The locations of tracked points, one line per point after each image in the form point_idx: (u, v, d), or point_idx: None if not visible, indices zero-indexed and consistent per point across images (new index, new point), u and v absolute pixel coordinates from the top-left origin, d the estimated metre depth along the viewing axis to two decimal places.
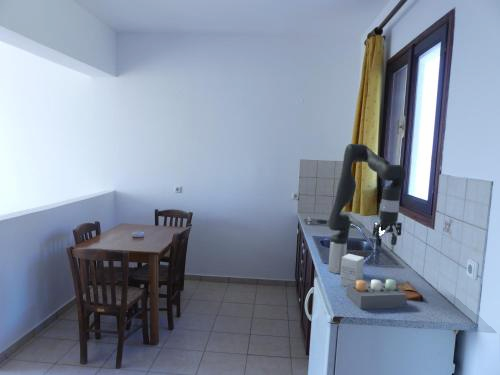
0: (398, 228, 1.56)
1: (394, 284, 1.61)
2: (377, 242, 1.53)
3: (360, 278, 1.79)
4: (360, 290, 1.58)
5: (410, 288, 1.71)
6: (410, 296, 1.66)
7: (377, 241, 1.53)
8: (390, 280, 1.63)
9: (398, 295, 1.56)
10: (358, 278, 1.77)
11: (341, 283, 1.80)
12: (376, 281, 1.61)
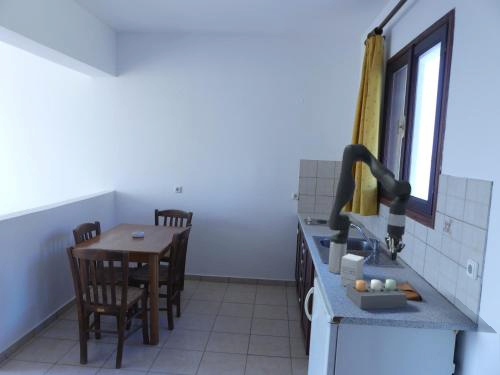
0: None
1: (394, 284, 1.61)
2: (395, 257, 1.60)
3: (360, 278, 1.79)
4: (360, 290, 1.58)
5: (409, 288, 1.71)
6: (409, 295, 1.66)
7: (395, 256, 1.60)
8: (390, 280, 1.63)
9: (398, 295, 1.56)
10: (358, 278, 1.77)
11: (341, 283, 1.80)
12: (376, 281, 1.61)
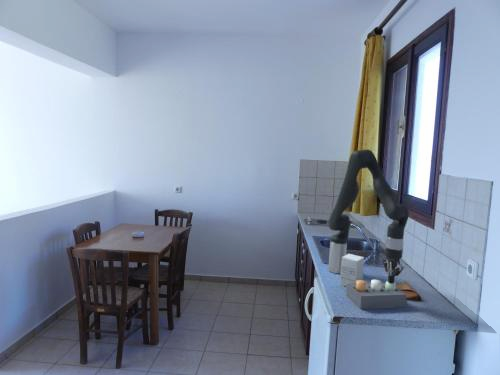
0: None
1: (394, 286, 1.61)
2: (393, 280, 1.61)
3: (360, 278, 1.79)
4: (360, 290, 1.58)
5: (408, 288, 1.71)
6: (408, 295, 1.66)
7: (393, 279, 1.61)
8: None
9: (398, 295, 1.56)
10: (358, 278, 1.77)
11: (341, 283, 1.80)
12: (376, 281, 1.61)
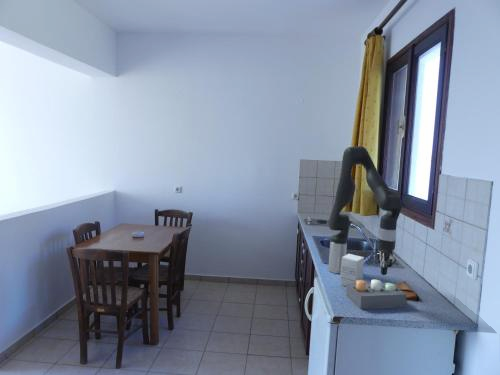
0: None
1: (394, 288, 1.61)
2: (385, 271, 1.60)
3: (360, 278, 1.79)
4: (360, 290, 1.58)
5: (406, 288, 1.71)
6: (407, 295, 1.66)
7: (386, 270, 1.60)
8: (390, 284, 1.63)
9: (398, 295, 1.56)
10: (358, 278, 1.77)
11: (341, 283, 1.80)
12: (376, 281, 1.61)
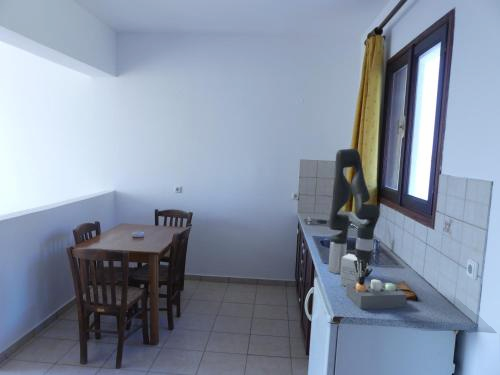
0: None
1: (394, 288, 1.61)
2: (363, 281, 1.58)
3: None
4: None
5: (405, 288, 1.71)
6: None
7: (363, 280, 1.58)
8: (390, 284, 1.63)
9: (398, 295, 1.56)
10: (358, 278, 1.77)
11: (341, 283, 1.80)
12: (376, 281, 1.61)
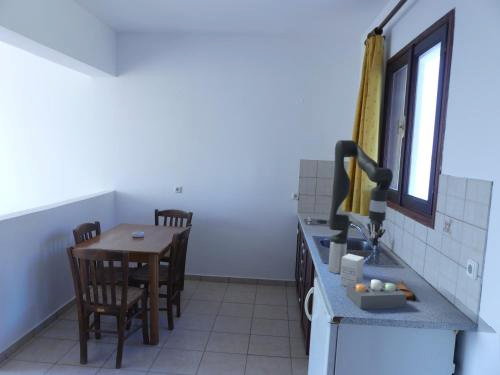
0: None
1: (394, 288, 1.61)
2: (376, 242, 1.65)
3: (360, 278, 1.79)
4: None
5: (403, 287, 1.71)
6: None
7: (376, 241, 1.65)
8: (390, 284, 1.63)
9: (398, 295, 1.56)
10: (358, 278, 1.77)
11: (341, 283, 1.80)
12: (376, 281, 1.61)
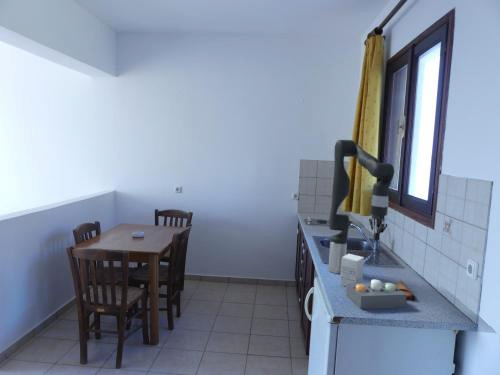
0: None
1: (394, 288, 1.61)
2: (378, 237, 1.66)
3: (360, 278, 1.79)
4: None
5: (403, 287, 1.71)
6: None
7: (378, 236, 1.66)
8: (390, 284, 1.63)
9: (398, 295, 1.56)
10: (358, 278, 1.77)
11: (341, 283, 1.80)
12: (376, 281, 1.61)
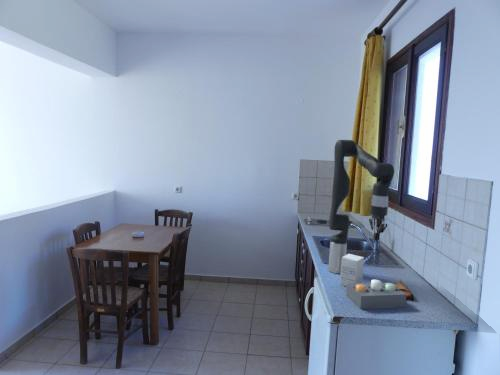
0: None
1: (394, 288, 1.61)
2: (378, 237, 1.66)
3: (360, 278, 1.79)
4: None
5: (402, 287, 1.72)
6: None
7: (378, 236, 1.66)
8: (390, 284, 1.63)
9: (398, 295, 1.56)
10: (358, 278, 1.77)
11: (341, 283, 1.80)
12: (376, 281, 1.61)
